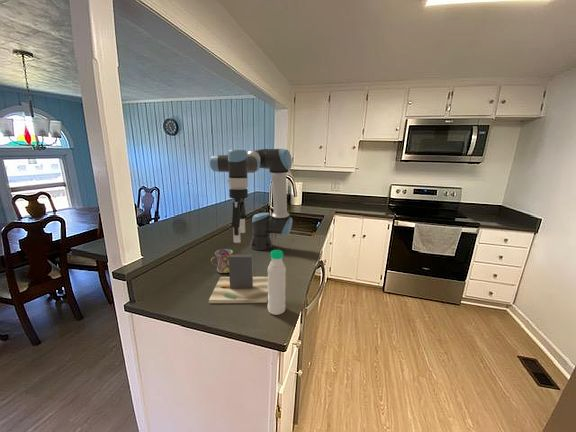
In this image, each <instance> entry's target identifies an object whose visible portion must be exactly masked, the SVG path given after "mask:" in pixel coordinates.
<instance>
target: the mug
mask: <svg viewBox="0 0 576 432" xmlns="http://www.w3.org/2000/svg"><path fill="white" fill-rule="evenodd" d="M233 253H234V251H233V250H232V249H231V248H230V249H229V248H221V249H218V250H216V251H215V252H214V255H215V256H213V257H211V259H210V262H211V264H212V265H213V266H216V272H217V273H220V274H227V273H229V255H234V254H233ZM213 259H216V260H217V264H215V263H214V262H213Z"/></svg>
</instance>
